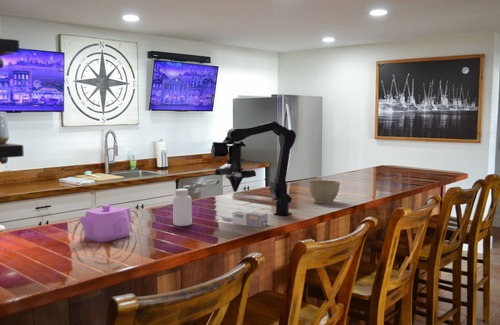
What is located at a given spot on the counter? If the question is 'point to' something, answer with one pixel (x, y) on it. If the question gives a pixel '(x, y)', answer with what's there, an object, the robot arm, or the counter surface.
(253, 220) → the mounted module
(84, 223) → the teakettle
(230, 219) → the rail
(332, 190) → the planter bowl
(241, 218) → the block
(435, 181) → the counter surface
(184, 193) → the pill bottle
